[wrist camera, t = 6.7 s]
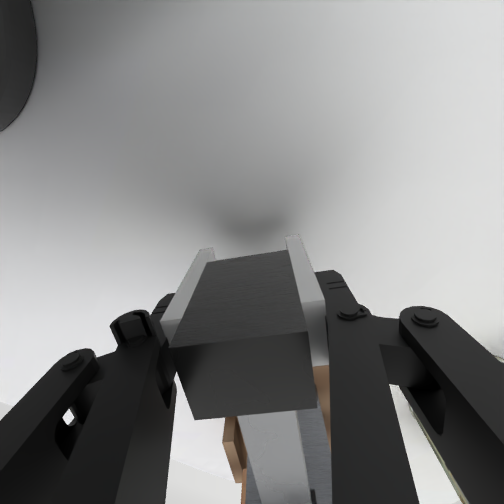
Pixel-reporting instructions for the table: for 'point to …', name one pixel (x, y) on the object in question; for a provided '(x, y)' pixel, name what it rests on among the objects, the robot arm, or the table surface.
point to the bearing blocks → (306, 458)
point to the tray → (234, 436)
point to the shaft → (251, 364)
